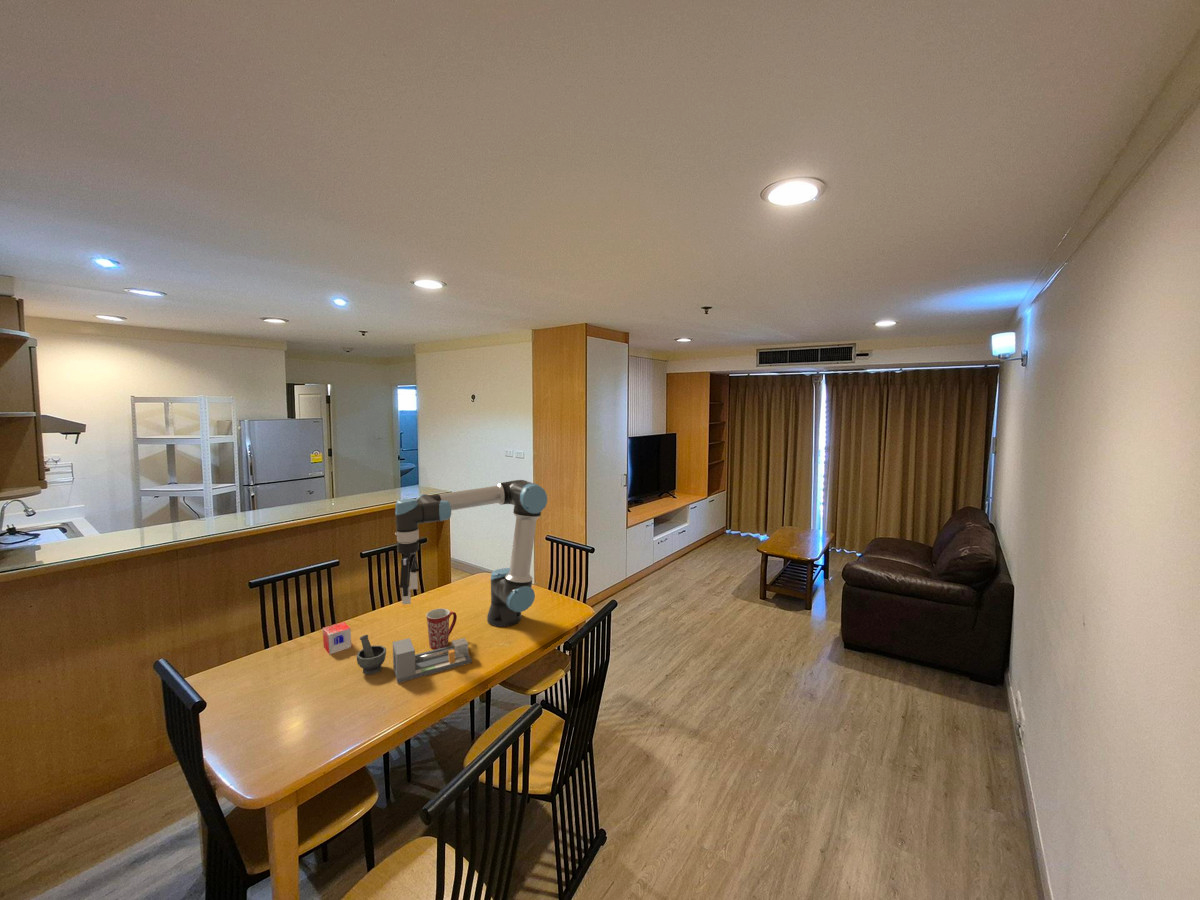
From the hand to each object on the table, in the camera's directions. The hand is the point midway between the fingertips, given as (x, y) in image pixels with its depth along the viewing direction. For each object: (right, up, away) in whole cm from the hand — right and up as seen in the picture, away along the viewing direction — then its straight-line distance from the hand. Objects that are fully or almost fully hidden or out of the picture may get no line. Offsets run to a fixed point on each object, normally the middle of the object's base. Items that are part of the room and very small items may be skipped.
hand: (410, 596), depth 176 cm
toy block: (-34, -24, +12) cm, 43 cm away
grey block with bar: (+12, -24, 0) cm, 27 cm away
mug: (+7, -24, +16) cm, 30 cm away
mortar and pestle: (-13, -26, -3) cm, 29 cm away
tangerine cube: (+16, -24, -1) cm, 29 cm away
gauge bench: (+9, -26, -1) cm, 27 cm away
